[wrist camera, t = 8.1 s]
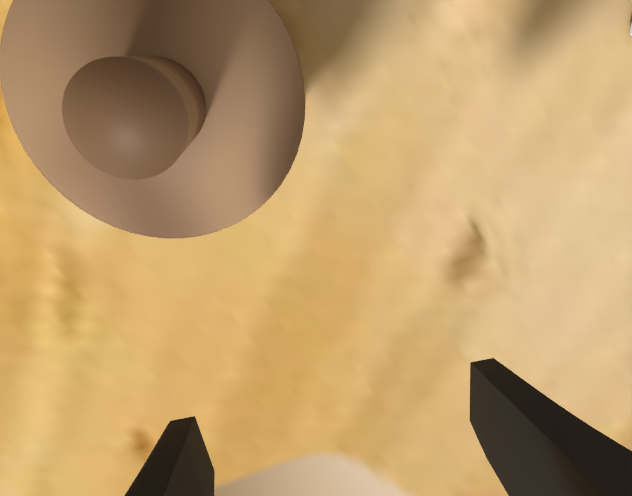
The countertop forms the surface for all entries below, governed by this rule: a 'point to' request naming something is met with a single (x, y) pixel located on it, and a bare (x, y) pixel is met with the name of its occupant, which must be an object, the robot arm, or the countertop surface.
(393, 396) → the countertop surface
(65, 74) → the lid
